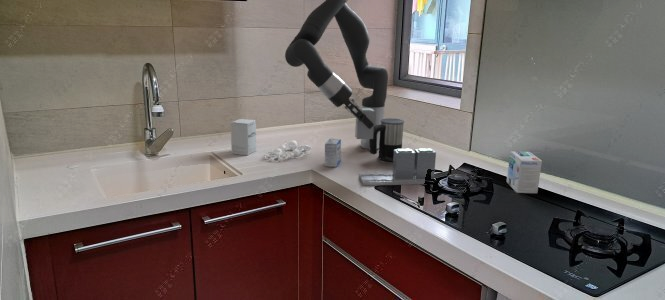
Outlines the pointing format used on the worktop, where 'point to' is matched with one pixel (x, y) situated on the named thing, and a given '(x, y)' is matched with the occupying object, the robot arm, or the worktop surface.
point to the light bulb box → (524, 172)
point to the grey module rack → (405, 168)
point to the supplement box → (243, 136)
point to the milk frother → (387, 138)
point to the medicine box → (332, 152)
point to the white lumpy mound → (280, 152)
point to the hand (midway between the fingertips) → (370, 125)
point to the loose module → (361, 128)
